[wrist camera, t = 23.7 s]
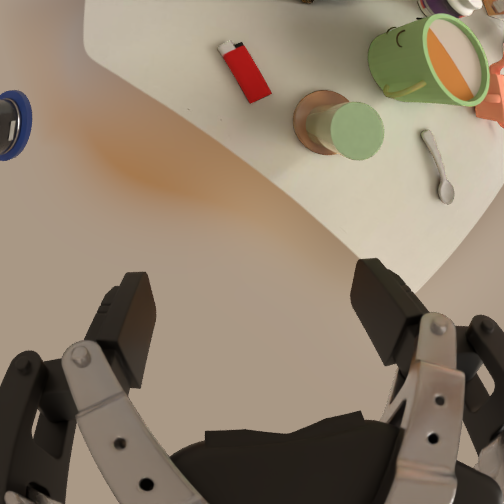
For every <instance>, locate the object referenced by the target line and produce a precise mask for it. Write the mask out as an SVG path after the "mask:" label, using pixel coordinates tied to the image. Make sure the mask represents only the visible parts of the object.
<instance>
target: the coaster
mask: <svg viewBox="0 0 504 504" xmlns="http://www.w3.org/2000/svg"><path fill="white" fill-rule="evenodd" d="M344 102H349V101H348V100H347V99H346V98H345V97H344V96H342V95H340V94H338V93H336V92H333V91H328V90H321V91H316V92H313V93H310V94H308V95H307V96H305V97H304V98H303V99H302V100H301V101H300V102H299V103H298V105H297V107H296V109H295V112H294V116H293V125H294V130H295V133H296V135H297V137H298V139H299V140H300V142H301V143H302V144H303V145H304V146H305V147H307V148H308V149H310V150H311V151H313V152H315V153H318V154H322V155H333V154H337V153H335V152H333V151H330V150H328V149H325V148H323V147H320V146H318V145H317V144H315V143H314V142H313V141H312V140H311V139H310V138H309V136H308V134H307V131H306V119H307V116H308V114H309V113H310V111H311V110H312V109H313V108H315V107H316V106H318V105H321V104H330V103H344Z"/></svg>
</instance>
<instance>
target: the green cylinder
mask: <svg viewBox="0 0 504 504" xmlns="http://www.w3.org/2000/svg"><path fill="white" fill-rule="evenodd" d="M306 131H307V134H308V136H309V138H310V139H311V140H312V141H313V142H314V143H315V144H317V145H318V146H320V147H323V148H325V149H328V150H330V151H333V152H335V153H337V154H340V155H342V156H344V157H346V158H349V159H352V160H365V159H368V158H370V157H372V156H373V155H374V154H376V153H377V151H378V150H379V149H380V147H381V145H382V143H383V139H384V126H383V122H382V120H381V118H380V116H379V115H378V113H377V112H376V111H375V110H374V109H373V108H372V107H370V106H369V105H367V104H364V103H361V102H344V103H330V104H321V105H318V106H316V107H315V108H313V109H312V110H311V111H310V113H309V114H308V116H307V119H306Z"/></svg>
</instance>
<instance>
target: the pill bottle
mask: <svg viewBox="0 0 504 504" xmlns="http://www.w3.org/2000/svg"><path fill="white" fill-rule="evenodd" d="M418 3H419V6H420V8H421V10H422V11H423V13H424V14H425V15H426V16H427V17H429V16H432V15H435V14H442V13H443V14H448V15H451V16H453V17H456V18H461V17H466V16H469V15H471V14H472V13H473V10H476V9H480V8H481V7H482V1H481V0H418Z"/></svg>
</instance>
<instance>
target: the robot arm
mask: <svg viewBox="0 0 504 504" xmlns="http://www.w3.org/2000/svg"><path fill="white" fill-rule="evenodd" d="M21 127H22V115H21V110H20V107H19V105H18V103H17V102H16V101H15V100H14V99H11V98H5V99H1V100H0V155H2V154H5V153H8V152H9V151H11V150H12V149H13V148H14V146H15V145H16V143H17V141H18V139H19V136H20V132H21ZM350 297H351V304H352V307H353V309H354V310H355V312H356V314H357V316H358V318H359V319H360V321H361V323H362V325H363V326H364V328H365V330H366V332H367V334H368V336H369V337H370V339H371V341H372V343H373V345H374V347H375V348H376V350H377V352H378V354H379V356H380V358H381V360H382V362H383V364H384V365H385V366H388V365H392V364H397V366H398V368H397V370H396V373H395V376H394V380H393V384H392V387H391V391H390V394H389V398H388V401H387V404H386V407H385V410H384V413H383V415H382V417H381V419H380V421H375V420H364V418H363V415H362V413H361V411H357V412H353V413H349V414H344V415H340V416H335V417H331V418H326V419H323V420H321V421H319V422H317V423H314V424H312V425H310V426H307V427H305V428H302V429H300V430H297V431H295V432H292V433H289V434H280V433H271V432H262V431H253V430H246V429H243V430H226V431H205V441H201V442H198V443H194V444H191V445H189V446H187V447H185V448H182V449H181V450H179V451H177V452H176V453H174V454H173V455H171V456H169V455H168V454H167V453H166V451H165V450H164V449H163V447H162V446H161V445H160V443H159V442H158V441H157V439H156V438H155V437H154V435H153V434H152V432H151V431H150V430H149V428H148V427H147V426H146V424H145V422H144V421H143V420H142V418H141V416H140V415H139V413H138V412H137V410H136V409H135V407H134V406H133V404H132V402H131V401H130V399H129V397H128V394H129V390H130V388H139V389H140V388H141V384H142V379H143V374H144V369H145V364H146V360H147V356H148V351H149V347H150V342H151V338H152V334H153V329H154V326H155V322H156V306H155V302H154V298H153V294H152V290H151V286H150V283H149V278H148V275H147V273H146V272H128V273H126V274H125V276H124V278H123V280H122V282H121V284H120V286H114V287H113V288H112V289H111V290H110V291H109V292H108V293H107V294H106V295H105V297H104V299H103V301H102V303H101V306H100V307H99V309H98V311H97V313H96V315H95V317H94V319H93V321H92V323H91V325H90V327H89V330H88V332H87V334H86V336H85V338H84V340H82V341H79V342H76V343H74V344H72V345H71V346H70V347H69V348H67V349H66V351H65V352H64V354H63V356H62V358H61V359H55V360H50V361H44V362H43V360H42V359H41V357H40V356H39V355H38V354H37V353H36V352H34V351H24V352H22V353H20V354H18V355H17V356H16V357H15V358H14V359H13V360H12V362H11V364H10V366H9V368H8V370H7V372H6V374H5V377H4V379H3V381H2V384H1V386H0V504H65V498H66V487H67V478H68V471H69V463H70V457H71V450H72V444H73V439H74V434H75V429H76V424H77V423H78V426H79V428H80V431H81V433H82V435H83V438H84V440H85V442H86V444H87V446H88V448H89V451H90V452H91V455H92V457H93V458H94V461H95V462H96V464H97V466H98V468H99V470H100V472H101V473H102V475H103V477H104V479H105V480H106V482H107V484H108V485H109V487H110V489H111V491H112V492H113V494H114V496H115V497H116V499H117V500H118V502H119V503H120V504H504V332H503V331H502V329H501V328H500V327H499V326H498V325H497V323H496V322H495V321H494V320H492V319H491V318H489V317H487V316H484V315H477V316H474V317H473V319H472V321H471V323H470V325H469V326H468V327H467V326H455V325H454V323H453V322H452V320H451V319H449V318H448V317H447V316H445V315H443V314H440V313H436V312H429V311H428V310H427V309H426V307H425V306H424V305H423V304H422V302H421V301H420V300H419V299H418V298H417V296H416V295H415V294H414V293H413V292H411V289H410V288H409V287H408V286H407V285H406V283H405V282H404V281H403V280H402V279H401V278H400V276H399V275H397V274H395V273H394V272H392V271H391V270H389V269H387V268H386V267H385V266H384V265H383V264H382V263H381V262H380V260H379V259H377V258H370V259H359V260H358V262H357V264H356V268H355V273H354V279H353V283H352V288H351V293H350ZM483 363H484V365H485V366H486V368H487V370H488V371H489V373H490V375H491V376H492V378H493V380H494V382H495V389H494V392H493V393H492V395H491V396H489V394H488V392H487V390H486V388H485V387H484V385H483V383H482V382H481V380H480V378H479V377H478V375H477V371H478V370H479V368H480V367H481V365H482V364H483ZM37 409H38V410H39V411H40V415H39V419H38V422H37V426H36V430H35V434H34V438H32V432H31V431H32V425H33V422H34V418H35V415H36V412H37ZM462 420H463V422H464V424H465V426H466V428H467V431H468V433H469V435H470V438H471V440H472V442H473V445H474V447H475V449H476V452H477V454H478V457H479V458H478V463H477V464H476V465H475V466H474V469H473V468H471V467H469V466H467V465H465V464H463V463H461V462H459V461H457V460H456V459H457V454H458V448H459V442H460V435H461V428H462Z"/></svg>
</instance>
